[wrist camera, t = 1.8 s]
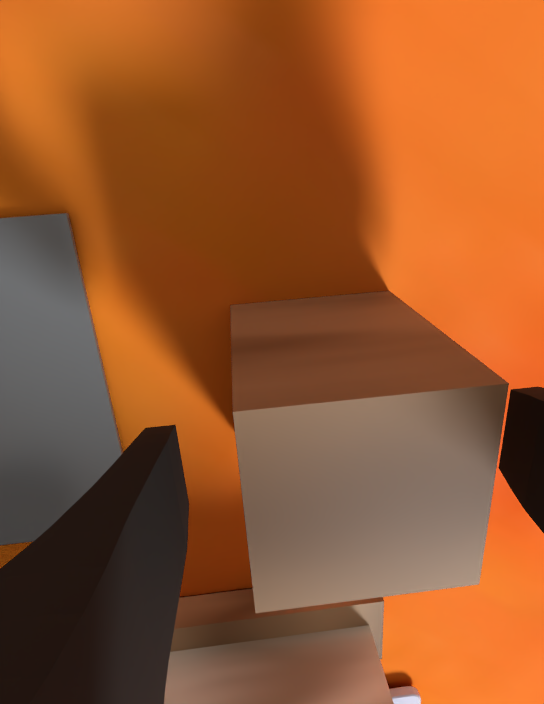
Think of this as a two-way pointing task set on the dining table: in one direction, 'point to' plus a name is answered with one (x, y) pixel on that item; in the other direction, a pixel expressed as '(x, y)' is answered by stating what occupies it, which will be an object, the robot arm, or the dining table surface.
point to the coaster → (48, 379)
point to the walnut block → (360, 449)
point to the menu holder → (276, 653)
